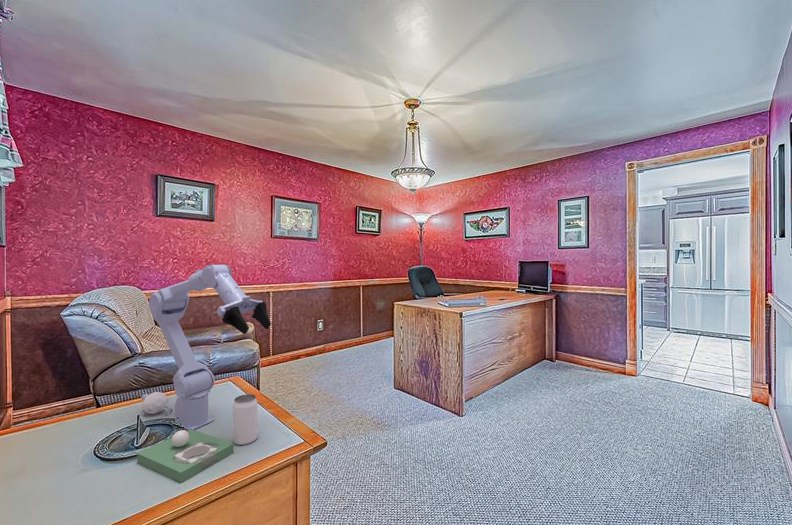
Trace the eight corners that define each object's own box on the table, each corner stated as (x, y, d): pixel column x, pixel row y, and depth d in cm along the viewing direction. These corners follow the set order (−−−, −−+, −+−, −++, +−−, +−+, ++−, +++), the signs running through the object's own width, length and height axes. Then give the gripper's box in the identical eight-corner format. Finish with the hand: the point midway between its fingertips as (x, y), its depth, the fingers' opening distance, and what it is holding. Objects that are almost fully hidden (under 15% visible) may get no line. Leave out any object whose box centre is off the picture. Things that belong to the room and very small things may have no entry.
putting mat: (137, 462, 88) (137, 453, 88) (190, 437, 101) (190, 428, 101) (181, 483, 80) (181, 472, 80) (233, 452, 93) (233, 443, 93)
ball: (168, 447, 90) (168, 432, 90) (183, 440, 94) (183, 426, 94) (177, 451, 89) (177, 436, 89) (192, 444, 92) (192, 429, 92)
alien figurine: (176, 415, 119) (151, 400, 122) (182, 397, 118) (156, 382, 121) (156, 426, 112) (129, 409, 115) (162, 406, 111) (134, 390, 114)
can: (248, 447, 95) (248, 403, 95) (227, 444, 97) (227, 401, 96) (262, 435, 102) (261, 394, 101) (242, 433, 103) (242, 392, 103)
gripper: (215, 287, 93) (242, 323, 89) (258, 283, 106) (284, 314, 102) (204, 305, 95) (230, 342, 91) (248, 300, 108) (272, 331, 104)
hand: (258, 328), depth 96 cm, fingers open, 7 cm apart
